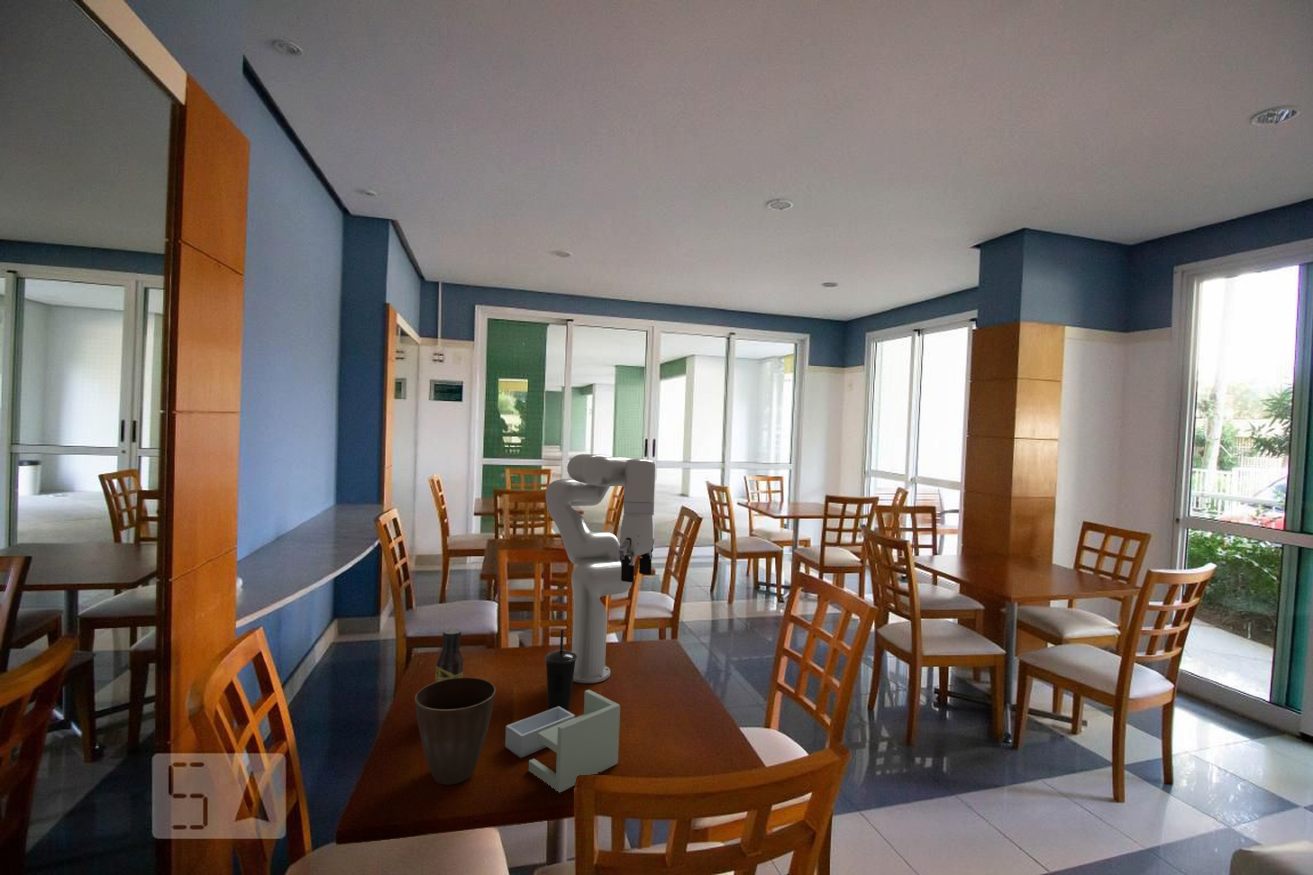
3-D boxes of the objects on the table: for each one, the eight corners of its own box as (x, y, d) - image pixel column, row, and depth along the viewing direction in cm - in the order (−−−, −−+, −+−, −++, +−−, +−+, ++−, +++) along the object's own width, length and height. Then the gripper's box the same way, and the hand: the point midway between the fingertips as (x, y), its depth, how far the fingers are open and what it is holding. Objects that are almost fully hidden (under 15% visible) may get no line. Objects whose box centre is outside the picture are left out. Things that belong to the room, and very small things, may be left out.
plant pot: (411, 804, 104) (415, 714, 105) (410, 761, 118) (414, 682, 118) (497, 787, 110) (500, 702, 110) (486, 748, 124) (490, 673, 124)
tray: (520, 757, 121) (521, 736, 121) (505, 746, 125) (505, 725, 125) (574, 735, 131) (575, 715, 131) (557, 725, 135) (558, 705, 135)
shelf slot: (528, 770, 116) (531, 710, 116) (586, 744, 127) (589, 689, 127) (559, 792, 109) (561, 728, 110) (617, 763, 120) (620, 704, 120)
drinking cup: (581, 713, 142) (584, 630, 142) (555, 723, 136) (559, 637, 136) (561, 702, 147) (564, 623, 147) (536, 712, 141) (539, 629, 142)
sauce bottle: (428, 713, 139) (431, 629, 139) (452, 705, 143) (456, 624, 143) (441, 722, 134) (445, 636, 134) (466, 714, 139) (469, 630, 139)
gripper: (640, 505, 154) (638, 569, 154) (608, 510, 139) (606, 582, 138) (666, 507, 151) (664, 573, 151) (636, 512, 135) (634, 586, 135)
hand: (636, 577), depth 145 cm, fingers open, 9 cm apart
